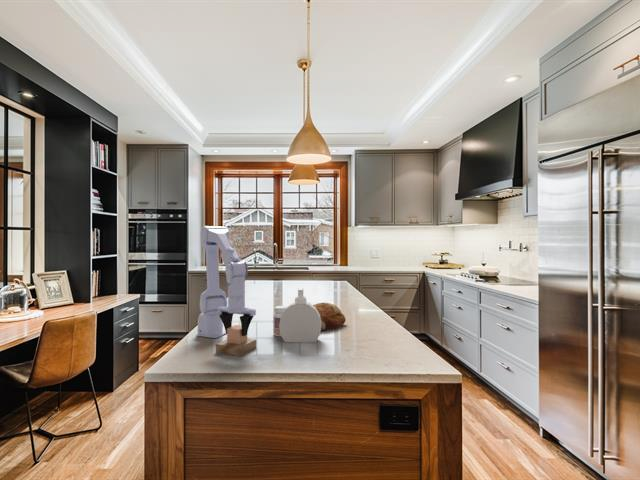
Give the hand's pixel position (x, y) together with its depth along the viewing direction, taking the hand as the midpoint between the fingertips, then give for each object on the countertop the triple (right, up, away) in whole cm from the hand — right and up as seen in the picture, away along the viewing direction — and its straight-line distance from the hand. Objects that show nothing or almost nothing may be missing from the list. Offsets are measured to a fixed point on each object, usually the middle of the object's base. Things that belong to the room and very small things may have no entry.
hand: (236, 334), depth 130 cm
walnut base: (0, -6, 0) cm, 6 cm away
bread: (+28, -6, +35) cm, 45 cm away
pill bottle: (+14, -6, +20) cm, 25 cm away
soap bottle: (+22, -6, +12) cm, 26 cm away
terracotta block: (0, -3, 0) cm, 3 cm away
